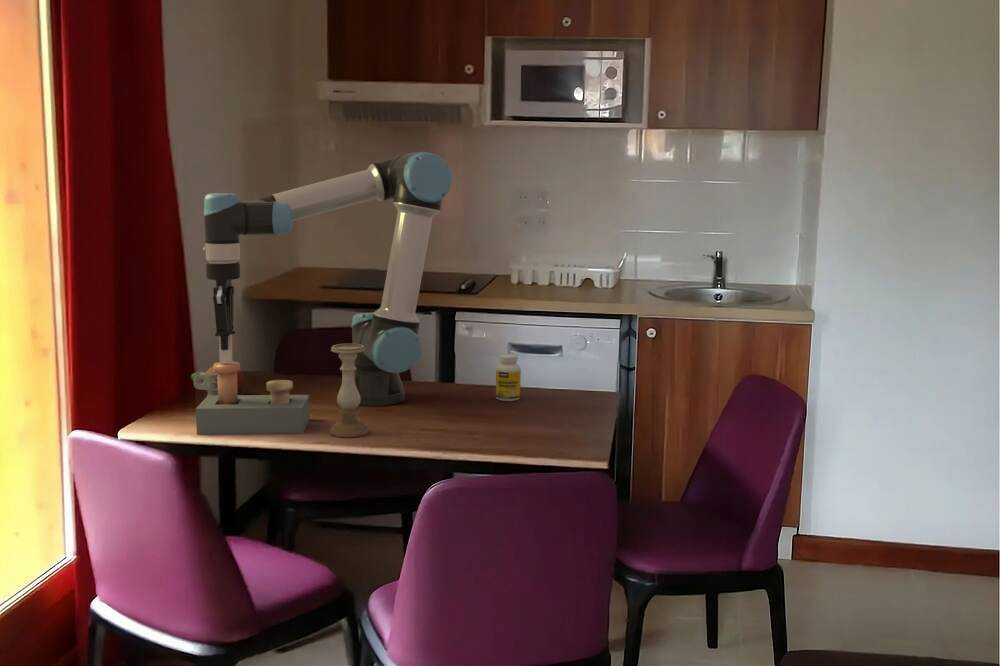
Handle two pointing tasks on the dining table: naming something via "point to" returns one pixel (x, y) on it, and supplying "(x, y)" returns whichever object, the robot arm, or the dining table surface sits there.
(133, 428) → the dining table surface
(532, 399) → the dining table surface
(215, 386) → the mechanical component
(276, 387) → the beech plug
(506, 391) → the pill bottle
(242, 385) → the fruit
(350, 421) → the candle holder
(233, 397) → the terracotta plug
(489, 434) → the dining table surface
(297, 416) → the socket board
